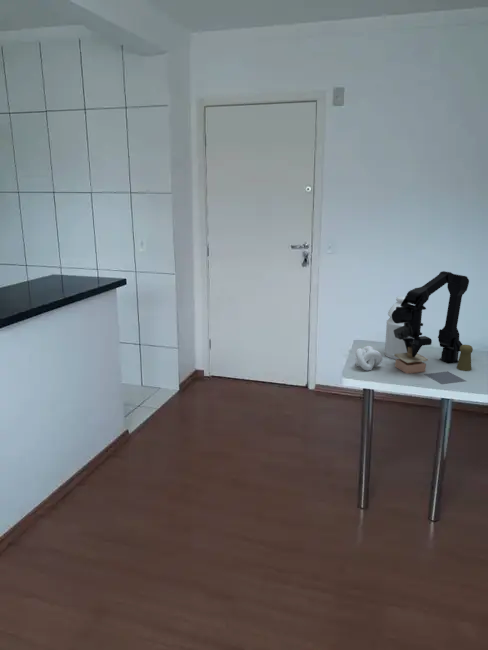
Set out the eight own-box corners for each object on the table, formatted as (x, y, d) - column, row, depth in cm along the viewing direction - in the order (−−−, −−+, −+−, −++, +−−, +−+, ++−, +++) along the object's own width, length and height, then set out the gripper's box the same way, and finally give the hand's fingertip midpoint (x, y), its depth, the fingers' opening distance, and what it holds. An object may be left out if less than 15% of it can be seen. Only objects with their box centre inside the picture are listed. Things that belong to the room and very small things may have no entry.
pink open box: (412, 365, 231) (413, 357, 230) (425, 372, 223) (425, 363, 222) (395, 367, 229) (395, 359, 228) (406, 374, 221) (407, 365, 220)
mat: (447, 372, 223) (447, 371, 223) (466, 382, 212) (466, 381, 212) (423, 375, 220) (423, 374, 220) (441, 385, 209) (441, 384, 209)
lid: (414, 353, 231) (415, 343, 229) (427, 360, 221) (428, 349, 220) (394, 355, 228) (395, 345, 227) (407, 362, 219) (408, 352, 217)
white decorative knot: (370, 374, 221) (372, 354, 219) (346, 368, 229) (347, 348, 227) (384, 368, 229) (385, 348, 226) (360, 362, 237) (361, 343, 234)
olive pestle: (464, 372, 223) (467, 348, 220) (453, 368, 228) (455, 344, 225) (474, 370, 225) (477, 346, 223) (463, 366, 231) (465, 342, 228)
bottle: (378, 353, 248) (381, 296, 241) (399, 349, 255) (404, 293, 247) (399, 362, 236) (404, 301, 229) (421, 357, 243) (426, 298, 235)
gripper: (385, 316, 227) (383, 350, 231) (410, 327, 209) (407, 364, 213) (407, 314, 230) (405, 348, 234) (434, 325, 212) (430, 361, 216)
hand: (411, 355), depth 224 cm, fingers closed on lid, 3 cm apart
